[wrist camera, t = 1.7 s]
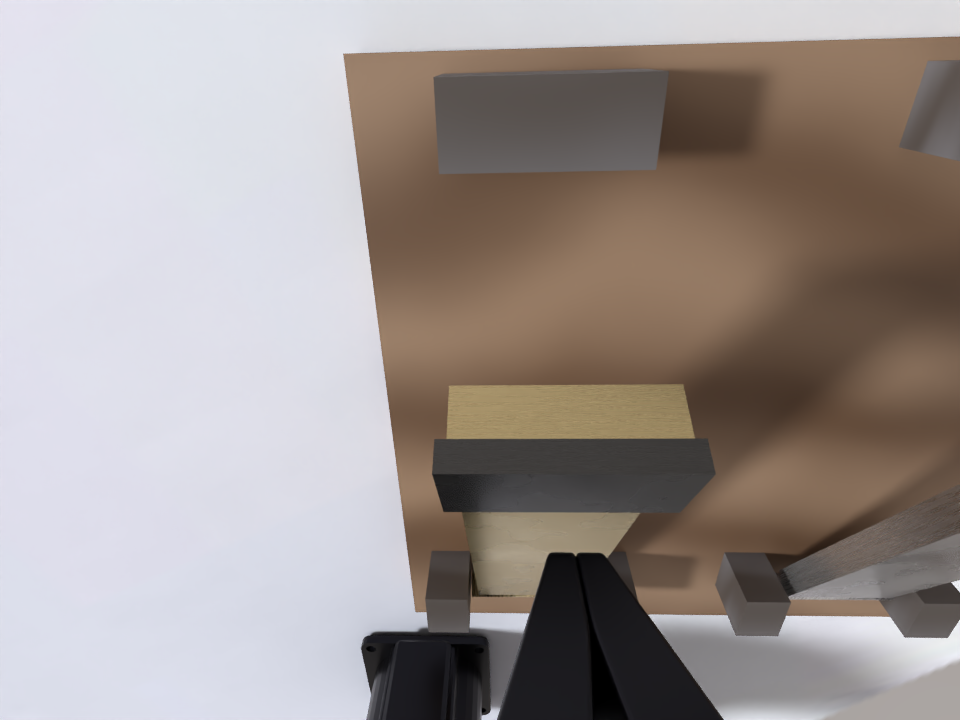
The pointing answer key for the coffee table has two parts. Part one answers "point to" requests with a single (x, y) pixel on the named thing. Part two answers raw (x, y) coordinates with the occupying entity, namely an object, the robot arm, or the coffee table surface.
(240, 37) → the coffee table surface
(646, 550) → the board
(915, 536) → the steel strap
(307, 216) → the coffee table surface
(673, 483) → the brass strap
